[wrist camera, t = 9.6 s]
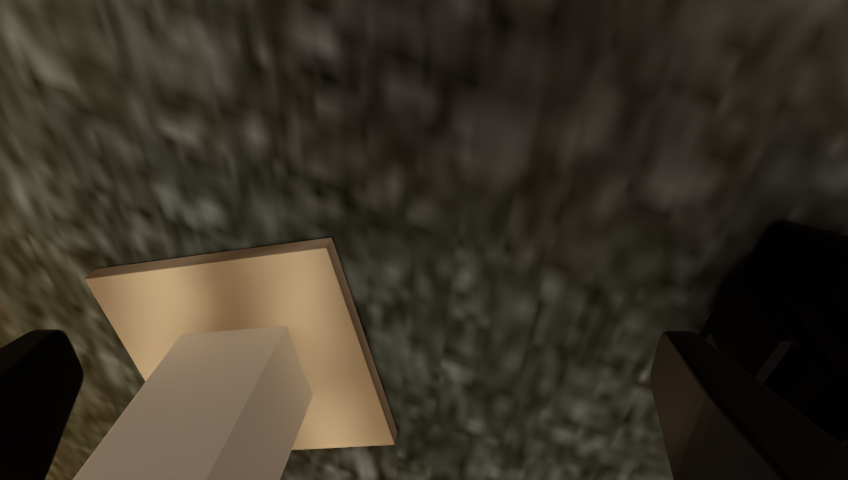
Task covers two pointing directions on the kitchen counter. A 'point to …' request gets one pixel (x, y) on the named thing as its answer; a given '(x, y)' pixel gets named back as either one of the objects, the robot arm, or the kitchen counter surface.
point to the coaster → (260, 325)
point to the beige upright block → (210, 412)
